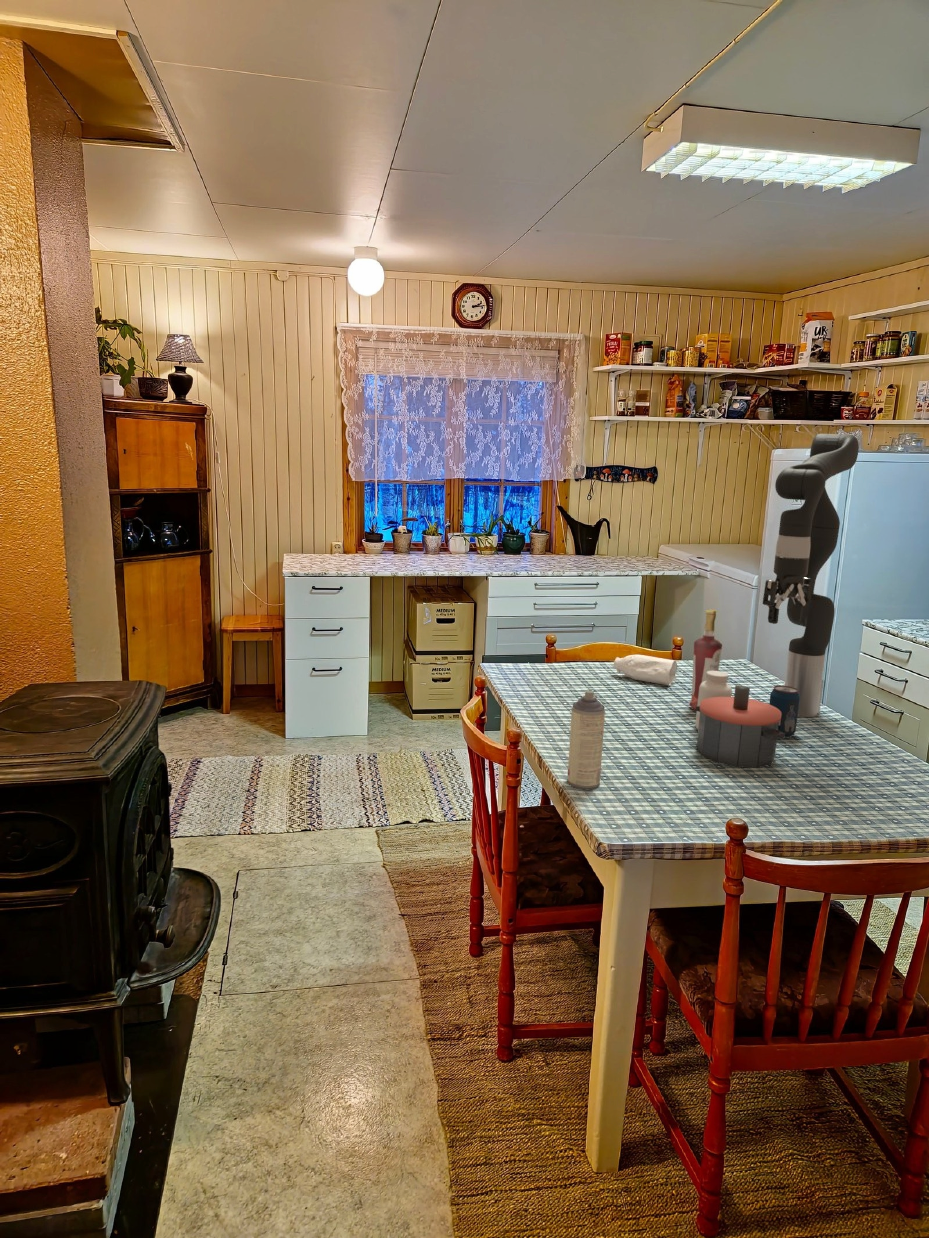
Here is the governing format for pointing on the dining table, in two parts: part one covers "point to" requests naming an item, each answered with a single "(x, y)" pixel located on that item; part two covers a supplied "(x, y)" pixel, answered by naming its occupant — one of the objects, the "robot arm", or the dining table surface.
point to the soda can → (786, 708)
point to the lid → (740, 709)
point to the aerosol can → (586, 742)
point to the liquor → (705, 656)
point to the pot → (737, 742)
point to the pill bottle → (713, 688)
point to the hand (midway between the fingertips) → (784, 621)
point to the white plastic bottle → (647, 668)
